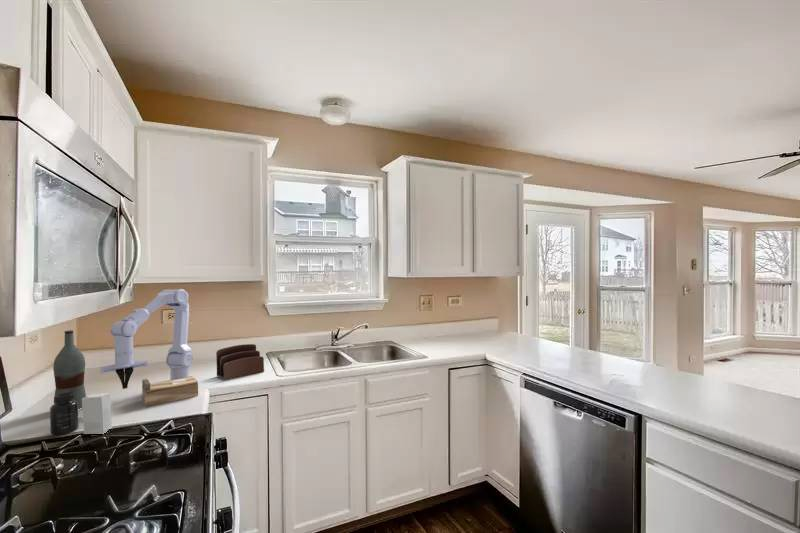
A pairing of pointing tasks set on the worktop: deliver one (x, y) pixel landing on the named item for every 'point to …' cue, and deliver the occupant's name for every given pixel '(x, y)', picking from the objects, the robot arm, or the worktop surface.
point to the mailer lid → (167, 384)
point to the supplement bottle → (64, 414)
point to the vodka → (70, 370)
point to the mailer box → (169, 394)
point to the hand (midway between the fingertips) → (124, 388)
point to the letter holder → (239, 361)
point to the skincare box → (96, 413)
